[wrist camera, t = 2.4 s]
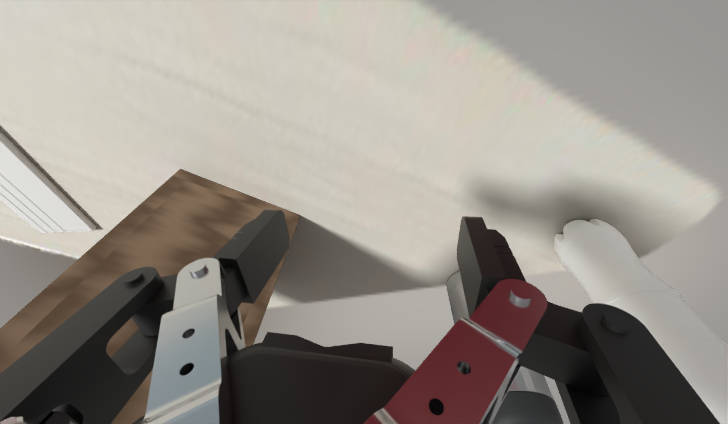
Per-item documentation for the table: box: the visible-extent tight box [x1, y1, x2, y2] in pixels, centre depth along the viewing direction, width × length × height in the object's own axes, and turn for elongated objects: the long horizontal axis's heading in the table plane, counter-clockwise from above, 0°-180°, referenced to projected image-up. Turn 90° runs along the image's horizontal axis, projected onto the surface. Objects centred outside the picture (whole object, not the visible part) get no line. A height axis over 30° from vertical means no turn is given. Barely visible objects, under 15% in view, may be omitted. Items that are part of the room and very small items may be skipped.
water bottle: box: [554, 219, 728, 424], centre depth 27 cm, size 7×7×25 cm
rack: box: [0, 169, 300, 424], centre depth 29 cm, size 16×18×32 cm
